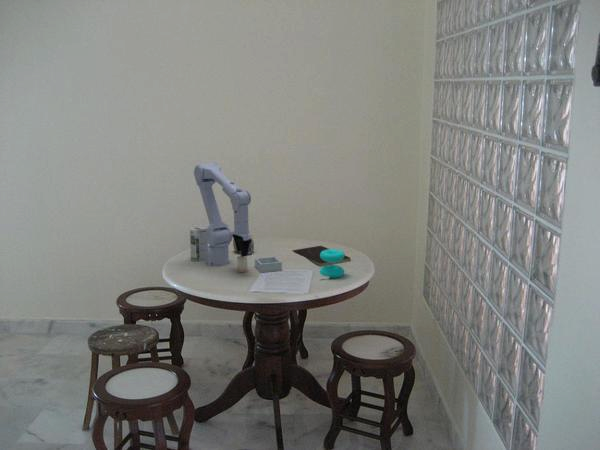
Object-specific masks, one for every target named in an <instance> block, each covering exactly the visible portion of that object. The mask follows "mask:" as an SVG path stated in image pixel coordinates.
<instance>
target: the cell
mask: <svg viewBox="0 0 600 450" xmlns="http://www.w3.org/2000/svg"><path fill="white" fill-rule="evenodd" d="M236 258H237V259H236V261H237V269H238V272H247V268H248V255H247V256H242V255H241V254H240V255H238V256H237V257H236Z"/></svg>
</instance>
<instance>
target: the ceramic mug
mask: <svg viewBox="0 0 600 450" xmlns="http://www.w3.org/2000/svg"><path fill="white" fill-rule="evenodd" d="M248 239H251V240H252V242H251V243H250V246H249V249H248V254H247V256H250V255H252V254H253V252H254V247H255V245H254V244H255V242H254V239H253V236H252V235H251V234H249V235H248ZM232 240H233V241H232V245H233V250H234V252H235V253H237V254H241V251H237V248H236V244H235V241H234V239H232Z"/></svg>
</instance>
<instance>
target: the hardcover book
mask: <svg viewBox="0 0 600 450" xmlns="http://www.w3.org/2000/svg"><path fill="white" fill-rule="evenodd" d="M328 249H329V248H327V247H326V246H323V245H315V246H310V247H304V248H298V249H292V252H293V253H295V254H298V255H300V256H303V257H304V258H306V259H307V260H308V262H309V261H310V263H311V264H314V265H317V266H319V267H324V266H327V265H336V264H339V263H345V262H351V257H350V256H347V255H345V256H344V258H343V259H342V260H341V261H338V262H327V261H324V260H322V259H321V257H320V253H321V252H322V251H324V250H328Z"/></svg>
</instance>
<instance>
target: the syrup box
mask: <svg viewBox="0 0 600 450" xmlns="http://www.w3.org/2000/svg"><path fill="white" fill-rule="evenodd" d="M206 230H207V228H205V227H201V226H195V227H194V226H193V227H191V228H189V242H190V244H189V245H190V246H189V247H190V261H193V262H195V261H196V262H205V261H206V247H208V245H209V244H208V242H207V234H206Z"/></svg>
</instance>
